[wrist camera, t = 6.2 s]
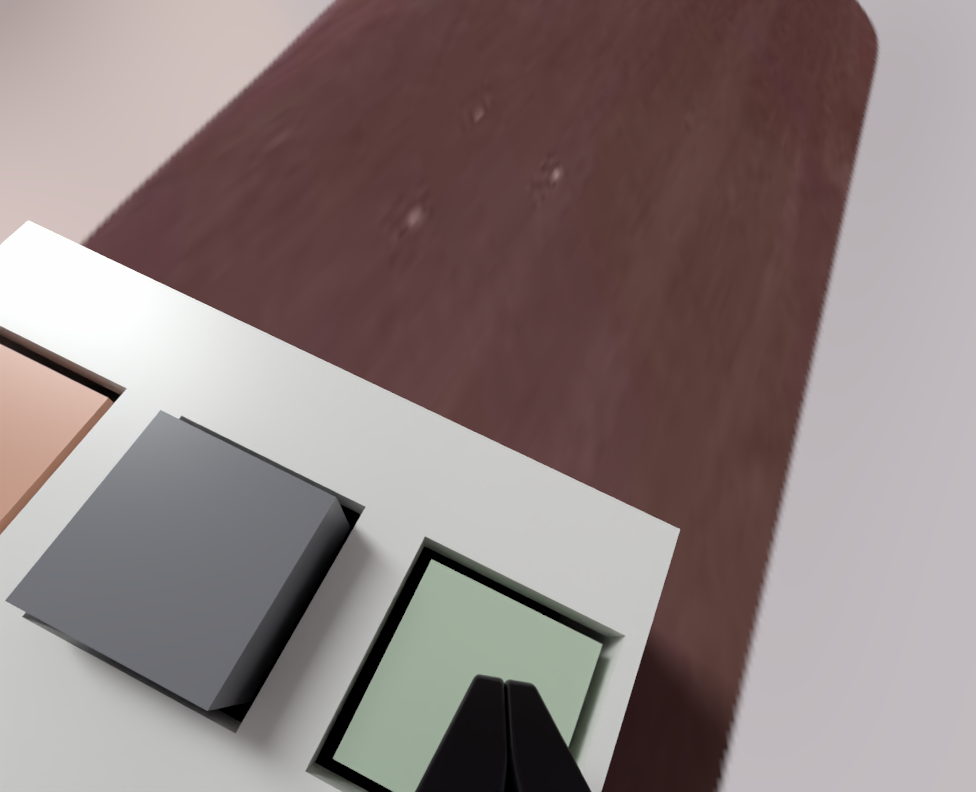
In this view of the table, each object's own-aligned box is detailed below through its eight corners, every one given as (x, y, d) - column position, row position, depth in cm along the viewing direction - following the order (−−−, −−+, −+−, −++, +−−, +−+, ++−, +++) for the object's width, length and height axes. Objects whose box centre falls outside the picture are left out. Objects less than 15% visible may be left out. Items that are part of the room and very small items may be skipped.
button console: (463, 919, 14) (501, 1122, 8) (-68, 623, 16) (-398, 594, 9) (588, 577, 18) (680, 529, 12) (154, 365, 19) (28, 220, 13)
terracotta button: (45, 579, 12) (-34, 560, 10) (-92, 505, 13) (-196, 472, 10) (156, 439, 14) (107, 397, 12) (31, 377, 14) (-37, 325, 12)
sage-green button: (507, 827, 11) (528, 865, 9) (347, 742, 12) (333, 758, 10) (571, 648, 13) (602, 644, 11) (429, 576, 13) (431, 559, 11)
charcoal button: (250, 701, 11) (207, 710, 8) (85, 614, 11) (4, 600, 9) (350, 527, 12) (335, 497, 10) (204, 454, 12) (160, 409, 10)
